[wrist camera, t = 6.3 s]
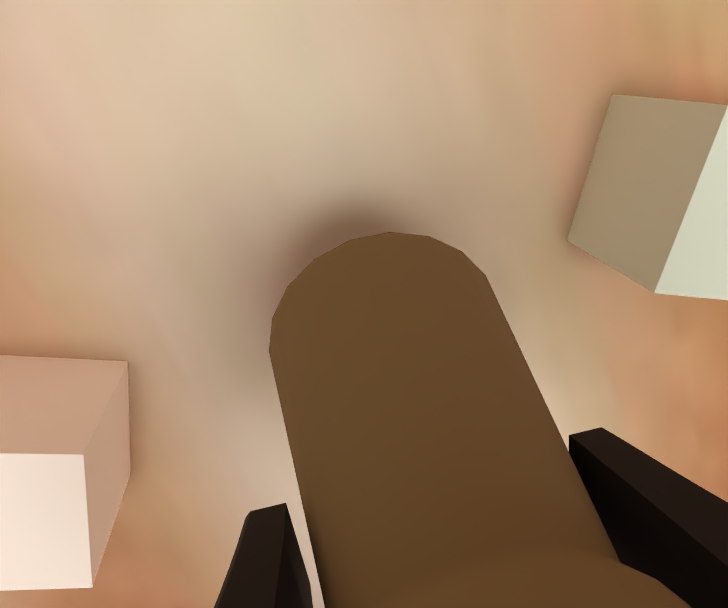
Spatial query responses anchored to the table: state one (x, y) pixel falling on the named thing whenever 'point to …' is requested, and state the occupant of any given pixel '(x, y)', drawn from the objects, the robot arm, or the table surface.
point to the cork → (432, 443)
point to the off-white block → (60, 467)
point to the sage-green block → (659, 196)
